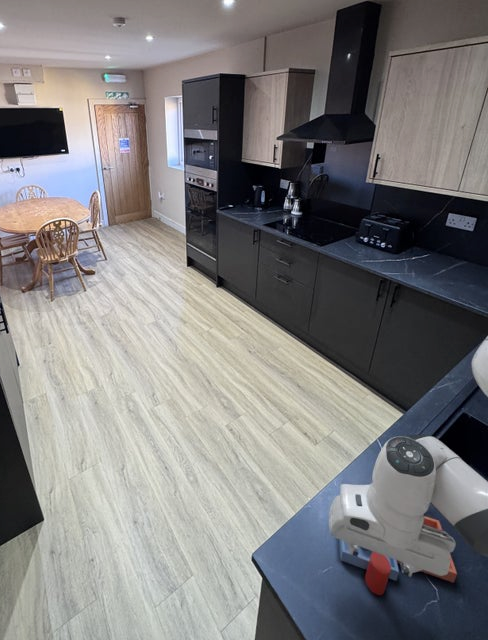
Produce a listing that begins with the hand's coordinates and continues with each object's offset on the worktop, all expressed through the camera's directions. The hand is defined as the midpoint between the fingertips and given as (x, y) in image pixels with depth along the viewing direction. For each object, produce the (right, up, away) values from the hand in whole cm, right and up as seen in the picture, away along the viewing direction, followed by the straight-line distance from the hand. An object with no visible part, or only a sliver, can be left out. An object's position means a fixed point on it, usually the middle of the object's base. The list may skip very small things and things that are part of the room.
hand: (378, 561), depth 65 cm
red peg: (0, -7, +2) cm, 7 cm away
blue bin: (+2, -4, +9) cm, 10 cm away
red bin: (+13, -4, +8) cm, 16 cm away
